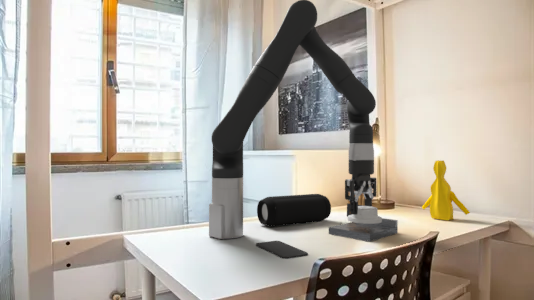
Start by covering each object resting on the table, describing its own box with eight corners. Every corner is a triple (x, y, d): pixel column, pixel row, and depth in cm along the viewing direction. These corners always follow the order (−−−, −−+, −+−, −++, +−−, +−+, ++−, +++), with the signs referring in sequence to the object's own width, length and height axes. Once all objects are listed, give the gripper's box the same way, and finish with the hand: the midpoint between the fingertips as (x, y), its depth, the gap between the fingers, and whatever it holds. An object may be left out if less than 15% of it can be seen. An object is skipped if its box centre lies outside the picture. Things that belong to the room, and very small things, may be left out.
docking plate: (369, 241, 102) (369, 227, 102) (328, 233, 112) (328, 220, 112) (397, 233, 113) (397, 220, 113) (357, 226, 123) (357, 214, 123)
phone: (283, 257, 85) (254, 243, 98) (283, 261, 85) (254, 246, 98) (310, 253, 89) (278, 240, 102) (310, 257, 89) (278, 243, 102)
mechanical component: (376, 226, 104) (385, 220, 113) (376, 210, 104) (385, 206, 113) (342, 222, 110) (354, 217, 118) (342, 207, 110) (354, 203, 118)
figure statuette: (472, 221, 133) (472, 160, 133) (463, 224, 128) (462, 160, 128) (424, 215, 147) (424, 159, 147) (414, 217, 142) (414, 160, 142)
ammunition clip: (346, 216, 144) (346, 185, 144) (349, 215, 145) (349, 185, 145) (369, 220, 135) (369, 187, 135) (372, 219, 136) (372, 187, 137)
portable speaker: (316, 218, 139) (316, 192, 139) (332, 223, 131) (332, 194, 131) (255, 224, 127) (255, 195, 127) (269, 230, 119) (269, 198, 119)
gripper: (363, 158, 120) (363, 209, 120) (337, 158, 110) (337, 213, 110) (384, 158, 114) (384, 211, 114) (358, 158, 105) (359, 217, 104)
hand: (361, 212), depth 112 cm, fingers closed on mechanical component, 7 cm apart
